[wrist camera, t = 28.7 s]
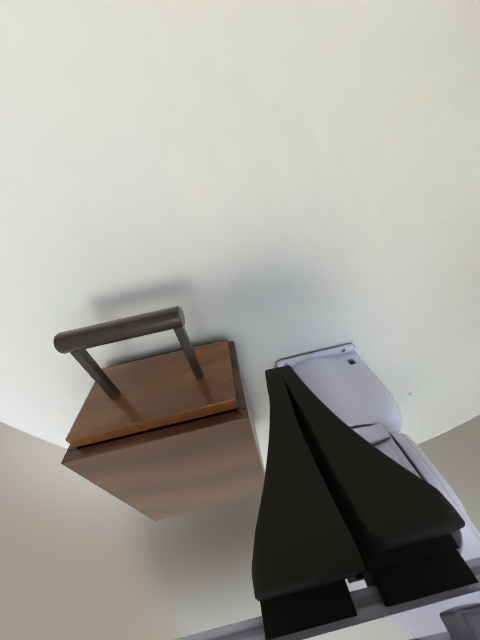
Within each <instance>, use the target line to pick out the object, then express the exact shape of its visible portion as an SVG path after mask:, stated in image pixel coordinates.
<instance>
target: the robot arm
mask: <svg viewBox="0 0 480 640" xmlns="http://www.w3.org/2000/svg"><path fill="white" fill-rule="evenodd" d="M284 363H285V364H284ZM276 365H277V368H273V369H269V370H266V371H265V375H266V381H267V388H268V393H269V399H270V429H269V444H268V455H267V464H266V472H265V479H264V485H263V492H262V498H261V504H260V509H259V514H258V520H257V525H256V530H255V539H254V550H253V560H252V579H253V587H254V594H255V598H256V599H257V600H258V601H260V604H261V612H262V616H259V617H256V618H252V619H248V620H245V621H241V622H238V623H234V624H230V625H226V626H222V627H219V628H215V629H211V630H208V631H204V632H200V633H197V634H193V635H190V636H186V637H182V638H178V639H174V640H303V639H306V638H310V637H313V636H317V635H321V634H324V633H328V632H332V631H335V630H339V629H342V628H346V627H349V626H353V625H357V624H360V623H364V622H367V621H371V620H375V619H379V618H382V617H383V618H386V619H387V620H389V621H391V622H392V623H394V624H396V625H398V626H399V627H401V628H403V629H404V630H406V631H407V632H409V633H410V634H411V635H413V636H414V637H415V639H410V640H480V533H479V532H478V530H477V529H476V528H475V526H474V525H473V523H472V522H471V520H470V519H469V517H468V514H467V512H466V510H465V508H464V506H463V505H462V503H461V502H460V500H459V499H458V497H457V496H456V495H455V493H454V492H453V491H452V489H451V488H450V486H449V485H448V484H447V482H446V481H445V479H444V478H443V477H442V475H441V474H440V473H439V472H438V470H437V469H436V468H435V466H434V465H433V464H432V463H431V461H430V460H429V459H428V458H427V457H426V455H425V454H424V453H423V452H422V450H421V449H420V448H419V447H418V446H417V445H416V444H415V442H414V441H413V440H412V439H411V438H410V437H409V436H408V435H406V434H403V433H399V432H400V430H401V427H402V417H401V413H400V410H399V408H398V406H397V403H396V401H395V400H394V398H393V396H392V395H391V393H390V392H389V390H388V389H387V388H386V387H385V386H384V384H383V383H382V382H381V381H380V380H379V379H378V378H377V376H376V375H375V374H374V373H373V372H372V371H371V370H370V368H369V367H368V366H367V365H366V364H365V363H364V361H363V360H362V359H361V358H360V357H359V356H358V355H357V353H356V352H355V345H354V344H347V345H343V346H339V347H334V348H330V349H326V350H322V351H318V352H313V353H309V354H305V355H301V356H297V357H292V358H288V359H284V360H280V361H278V362H277V364H276ZM391 437H392V438H391ZM393 440H394V441H393ZM347 586H348V587H349V588H350V589H351V591H352V592H349V590H348V587H347Z"/></svg>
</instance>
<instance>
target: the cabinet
mask: <svg viewBox="0 0 480 640" xmlns="http://www.w3.org/2000/svg"><path fill="white" fill-rule="evenodd" d="M228 346H229V350H230V356H231V362H232V368H233V374H234V381H235V387H236V393H237V399H238V405H239V408H237V411H233V412H229V413H225V414H221V415H217V416H213V417H208V418H204V419H200V420H196V421H192V422H188V423H184V424H180V425H175V426H171V427H167V428H163V429H159V430H155V431H151V432H147V433H143V434H138V435H134V436H130V437H126V438H122V439H118V440H114V441H110V442H105V443H101V444H99V442H96V443H92V444H88V445H84V446H80V447H74V446H72V445H71V444H70V446H69V448H68V450H67V452H66V454H65V456H64V458H63V460H62V463H61V464H63V465H64V466H66V467H68V468H69V469H71V470H73V471H74V472H76V473H77V474H79V475H81V476H82V477H84V478H86V479H87V480H89V481H90V482H92V483H94V484H95V485H97V486H99V487H100V488H102V489H104V490H105V491H107V492H108V493H110V494H112V495H113V496H115V497H117V498H118V499H120V500H122V501H123V502H125V503H127V504H128V505H130V506H131V507H133V508H135V509H136V510H138V511H139V512H141V513H143V514H144V515H146V516H148V517H149V518H151V519H153V520H154V521H158V520H163V519H166V518H170V517H174V516H178V515H182V514H186V513H190V512H194V511H198V510H201V509H206V508H209V507H214V506H217V505H221V504H225V503H229V502H233V501H237V500H241V499H245V498H249V497H252V496H257V495H260V494H262V492H263V485H264V479H265V470H264V465H263V461H262V456H261V452H260V447H259V442H258V438H257V433H256V429H255V424H254V420H253V416H252V412H251V408H250V404H249V400H248V396H247V392H246V388H245V384H244V380H243V376H242V372H241V368H240V364H239V360H238V356H237V352H236V348H235V344H234V342H229V343H228Z"/></svg>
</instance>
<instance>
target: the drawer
mask: <svg viewBox="0 0 480 640" xmlns="http://www.w3.org/2000/svg"><path fill="white" fill-rule="evenodd" d="M184 325H185V318H184V314H183V311H182V309H181V307H180V306H176V307H171V308H167V309H162V310H158V311H154V312H149V313H145V314H140V315H136V316H132V317H127V318H123V319H118V320H114V321H110V322H105V323H101V324H96V325H92V326H88V327H83V328H79V329H74V330H70V331H66V332H61V333H58V334H57V335H56V336H55V337H54V346H55V348H56V350H57V351H58V352H60V353H64V354H65V353H70V352H71V354H72V356H73V357H74V358H75V359H76V360H77V361H78V362H79V363H80V365H81V366H82V367H83V368H84V369H85V370H86V371H87V372H88V373H89V375H90V376H91V377H92V378H93V379H94V380H95V383H94V385H93V387H92V389H91V391H90V393H89V394H88V396H87V398H86V400H85V402H84V404H83V406H82V408H81V410H80V412H79V414H78V416H77V418H76V420H75V422H74V424H73V426H72V428H71V430H70V432H69V434H68V436H67V438H66V441H67V442H68V443H70V444H71V445H72V446H74V447H80V446H84V445H88V444H92V443H96V442H99V444H101V443H105V442H110V441H114V440H118V439H122V438H126V437H130V436H134V435H138V434H143V433H145V432H146V430H150V429H154V428H158V427H162V426H166V425H170V424H174V423H179V422H183V421H187V420H191V419H195V418H199V417H203V416H207V415H212V414H216V413H219V415H221V414H225V413H229V412H233V411H237V408H239V405H238V399H237V393H236V387H235V381H234V374H233V368H232V362H231V356H230V350H229V346H228V342H227V340H222V341H218V342H214V343H209V344H205V345H201V346H197V347H192V344H191V342H190V340H189V337H188V335H187V332H186V330H185V327H184ZM170 329H174V331H175V333H176V335H177V338H178V340H179V342H180V344H181V347H182V349H183V350H179V351H175V352H171V353H167V354H162V355H158V356H154V357H149V358H145V359H141V360H137V361H132V362H128V363H124V364H119V365H115V366H111V367H106V368H102V369H101V368H100V366H99V365H98V364H97V363H96V362H95V360H94V359H93V358H92V357H91V356H90V354H89V353H88V352H87V351H86V349H87V348H92V347H96V346H100V345H105V344H109V343H113V342H118V341H122V340H126V339H131V338H135V337H139V336H144V335H148V334H152V333H157V332H161V331H165V330H170Z"/></svg>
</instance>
